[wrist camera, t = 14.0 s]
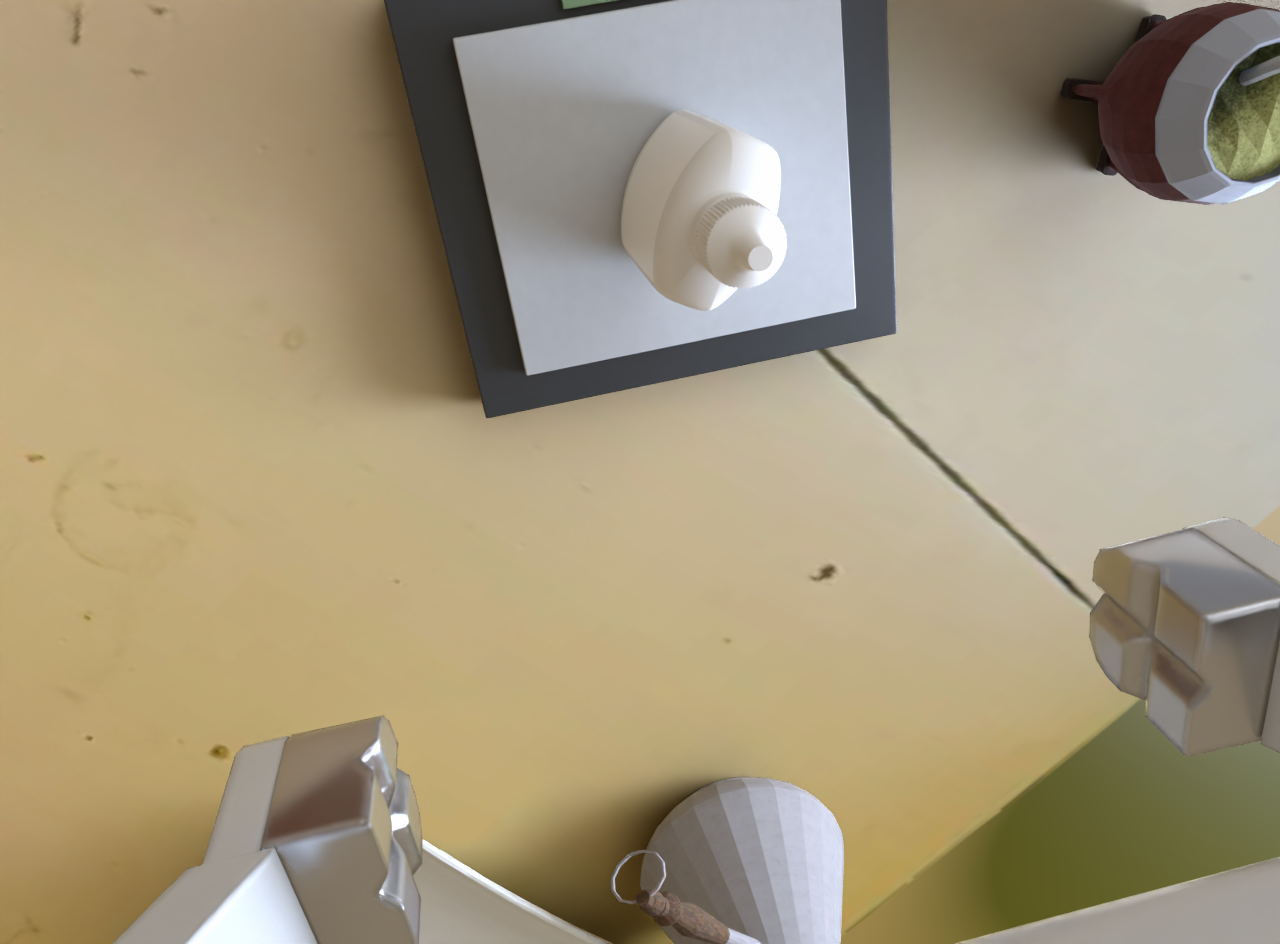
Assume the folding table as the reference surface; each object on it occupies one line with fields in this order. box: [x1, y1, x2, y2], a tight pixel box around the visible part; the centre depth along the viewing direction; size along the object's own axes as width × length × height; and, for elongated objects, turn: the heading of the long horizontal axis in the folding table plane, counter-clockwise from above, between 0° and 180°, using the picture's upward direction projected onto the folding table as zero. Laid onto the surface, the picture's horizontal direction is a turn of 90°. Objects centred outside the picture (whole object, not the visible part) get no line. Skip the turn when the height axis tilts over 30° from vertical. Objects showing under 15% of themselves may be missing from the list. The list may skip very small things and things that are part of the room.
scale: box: [384, 0, 897, 418], centre depth 38 cm, size 16×18×3 cm
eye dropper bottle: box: [621, 109, 787, 311], centre depth 31 cm, size 4×6×12 cm
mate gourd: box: [1061, 2, 1280, 205], centre depth 34 cm, size 8×8×15 cm
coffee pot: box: [611, 777, 844, 944], centre depth 46 cm, size 21×12×15 cm, turn 31°
